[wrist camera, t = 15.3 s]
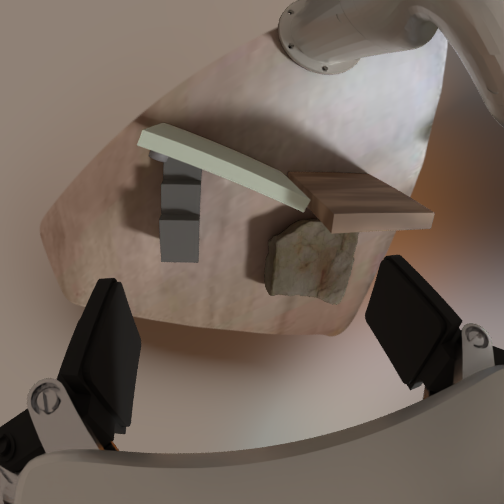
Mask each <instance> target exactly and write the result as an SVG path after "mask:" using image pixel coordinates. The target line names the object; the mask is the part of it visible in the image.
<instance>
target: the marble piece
mask: <svg viewBox="0 0 504 504" xmlns="http://www.w3.org/2000/svg"><path fill="white" fill-rule="evenodd" d="M358 234H359V232H351V233H333V234H331V233H330V231H329V230H328V229H327V228H326V227H325V226H324V225H323V223H322V222H321V221H320V220H319V219H315V220H313V219H309V220H301V221H297V222H295V223H294V224H291V225H290V226H289V227H288V228H287V229H286V230H285V231H284V232H282V233H281V234H279V235H278V236H276V235H275V236H273V239H271V240H269V241H268V247H269V253H268V256H267V257H266V264H265V274H264V278H265V287H266V290H267V292H268V293H269V295H271V296H275V295H288V296H294V295H300V296H309V297H316V298H319V299H322V300H323V301H325V302H327V303H330V304H335V305H337V304H339V303H340V302H341V300H342V298H343V297H344V294H345V291H346V288H347V285H348V280H349V277H350V275H351V270H352V266H353V262H354V257H353V256H354V252H355V249H356V245H357V241H358Z"/></svg>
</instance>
